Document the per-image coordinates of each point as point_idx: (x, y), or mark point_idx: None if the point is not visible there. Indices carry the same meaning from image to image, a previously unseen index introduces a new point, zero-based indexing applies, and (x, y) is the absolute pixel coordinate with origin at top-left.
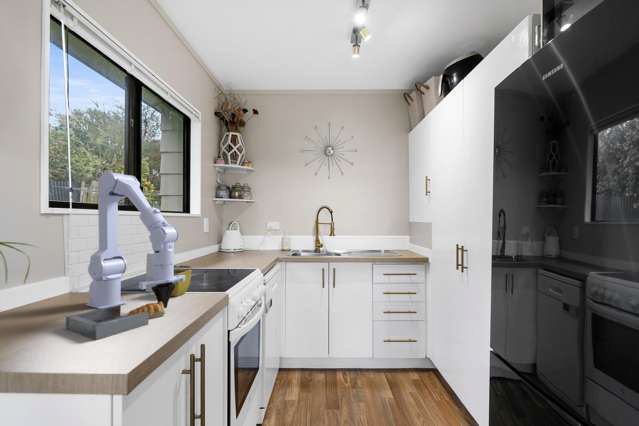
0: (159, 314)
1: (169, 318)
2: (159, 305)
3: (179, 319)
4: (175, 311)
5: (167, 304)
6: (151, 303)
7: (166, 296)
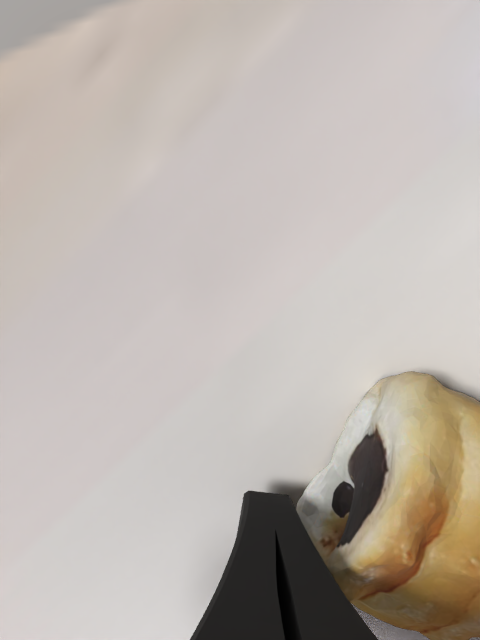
0: (453, 391)
1: (448, 245)
2: (452, 489)
3: (454, 92)
4: (214, 382)
5: (244, 513)
6: (460, 604)
7: (276, 614)
